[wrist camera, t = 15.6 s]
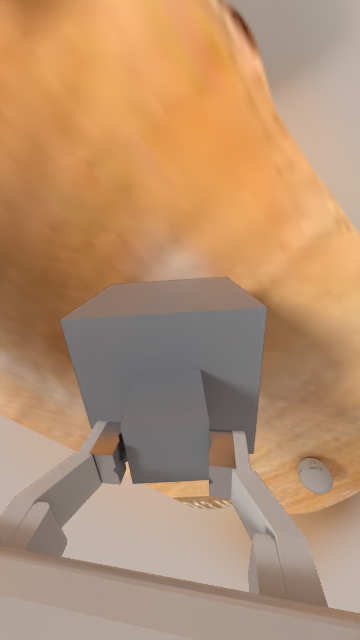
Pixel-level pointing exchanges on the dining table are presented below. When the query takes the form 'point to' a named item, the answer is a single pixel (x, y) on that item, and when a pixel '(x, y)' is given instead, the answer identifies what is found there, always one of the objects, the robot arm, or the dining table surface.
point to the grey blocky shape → (169, 369)
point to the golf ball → (315, 475)
